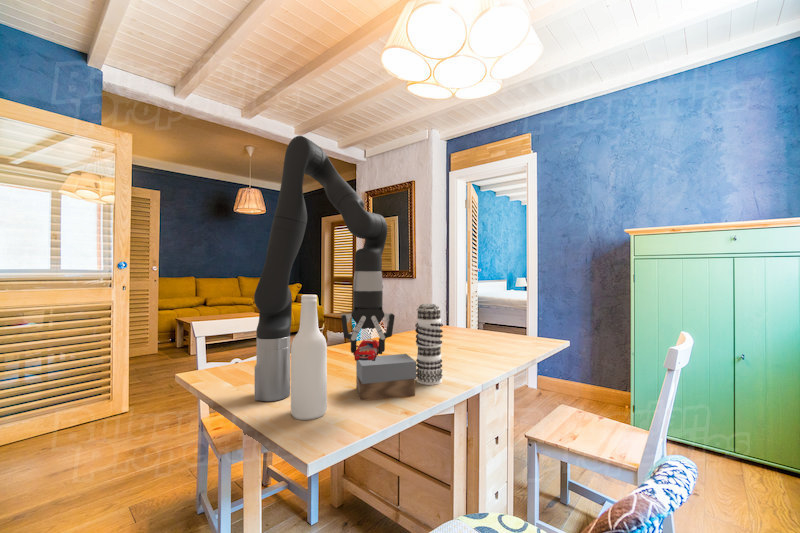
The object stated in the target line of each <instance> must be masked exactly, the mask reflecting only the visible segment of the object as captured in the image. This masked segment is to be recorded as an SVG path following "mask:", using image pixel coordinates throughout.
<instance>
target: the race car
mask: <svg viewBox="0 0 800 533" xmlns="http://www.w3.org/2000/svg"><path fill="white" fill-rule="evenodd" d="M379 355H380V354H379V340H376V339H371V338H369V339H368V338H367V339H363V340H362V341H361V342H360V343H359V345H356V351H355V354H354V355H353V356H354V361H358V360H372V361H375V359H376V357H377V356H379Z"/></svg>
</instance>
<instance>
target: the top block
mask: <svg viewBox="0 0 800 533" xmlns="http://www.w3.org/2000/svg"><path fill="white" fill-rule="evenodd" d="M416 364H417V361H416V360H415V359H414V358H412V357H411V356H410V355H409V354H407V353H399V354H387V355H386V354H385V355H384V354H382V355H377V357H376V359H375V361H372V360H358V361H356V364H355V366H356V374H357V376H358V378H359V379H360V381H361V383H362V384H367V383H378V382H388V381H399V380H409V379H415V380H416V379H417V377H416V374H417V372H416V369H417V366H416Z"/></svg>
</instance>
